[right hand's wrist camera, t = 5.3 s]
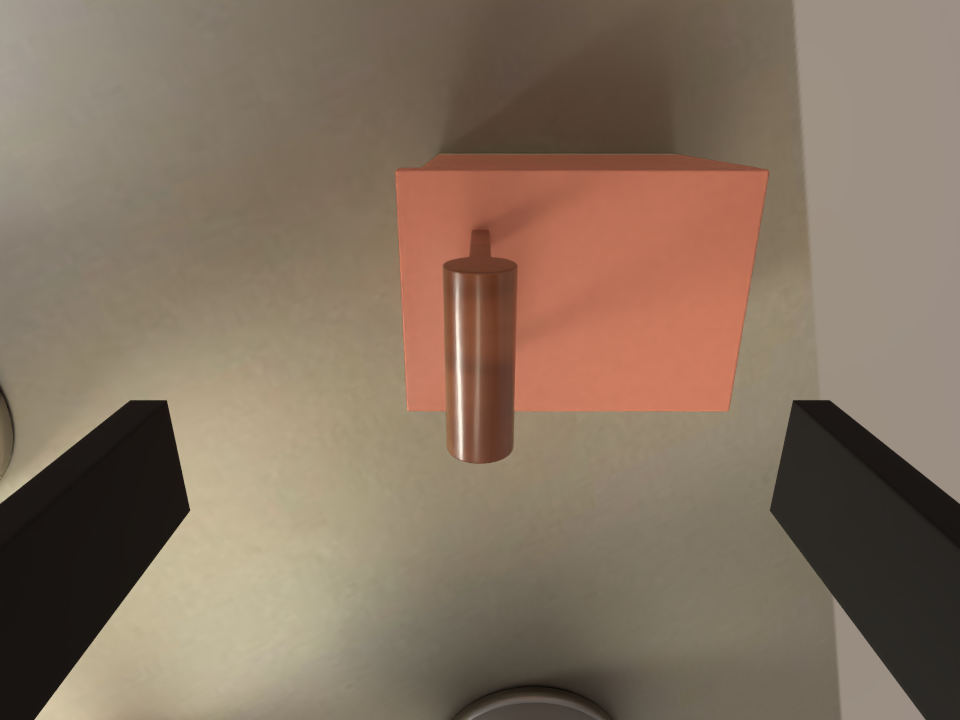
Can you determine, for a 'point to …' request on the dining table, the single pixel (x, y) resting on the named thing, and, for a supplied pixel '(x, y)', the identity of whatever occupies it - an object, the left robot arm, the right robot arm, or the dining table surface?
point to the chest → (574, 161)
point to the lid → (571, 291)
